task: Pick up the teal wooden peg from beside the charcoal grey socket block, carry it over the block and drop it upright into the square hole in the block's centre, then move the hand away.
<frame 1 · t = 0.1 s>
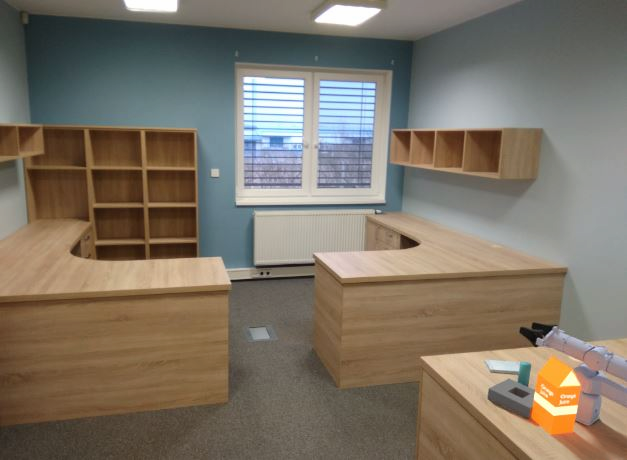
hand: (526, 327, 166), 22 cm above the table, tool horizontal, fingers open, 7 cm apart
peg: (522, 385, 172), on the table
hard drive: (504, 369, 185), on the table
socket block: (517, 402, 161), on the table
orange juice: (551, 425, 149), on the table
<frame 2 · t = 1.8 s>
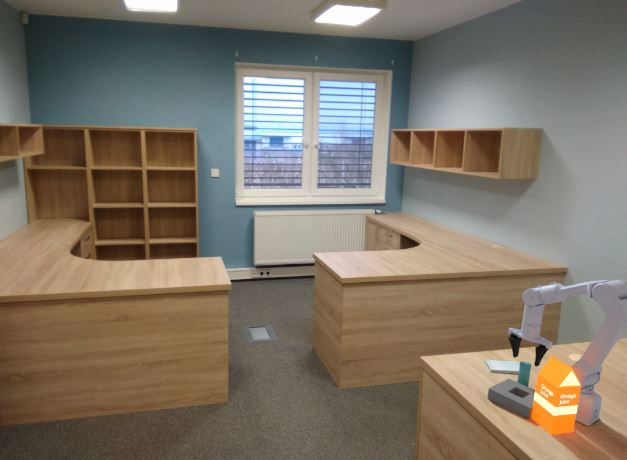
hand: (526, 361, 170), 9 cm above the table, tool pointing down, fingers open, 7 cm apart
nothing on the table moved.
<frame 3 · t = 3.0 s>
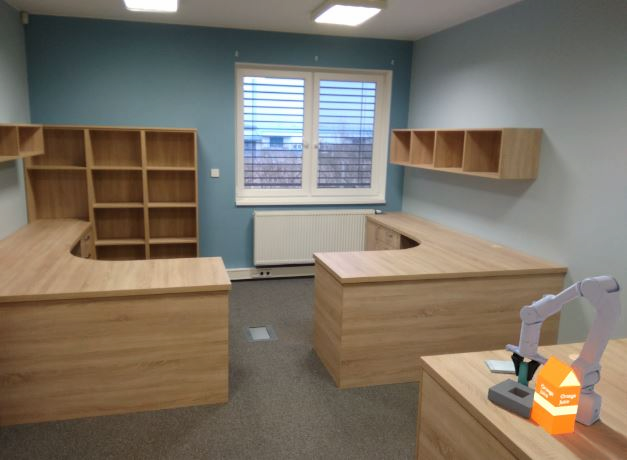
hand: (523, 377, 172), 3 cm above the table, tool pointing down, fingers closed on peg, 3 cm apart
peg: (522, 385, 172), on the table, touching gripper
everything else where it was.
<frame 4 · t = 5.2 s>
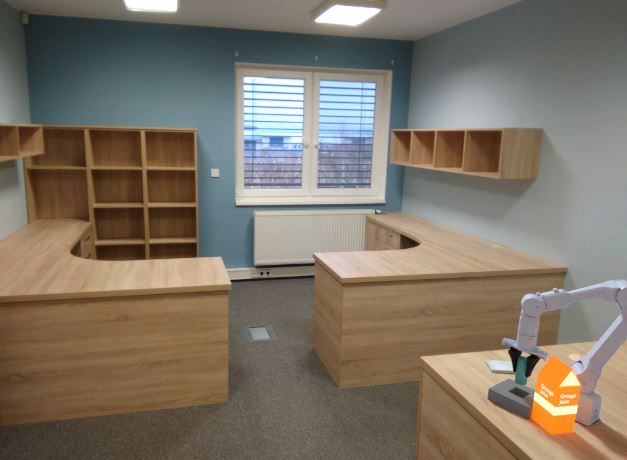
hand: (521, 373, 159), 10 cm above the table, tool pointing down, fingers closed on peg, 3 cm apart
peg: (520, 382, 160), point 7 cm above the table, touching gripper
everything else where it was.
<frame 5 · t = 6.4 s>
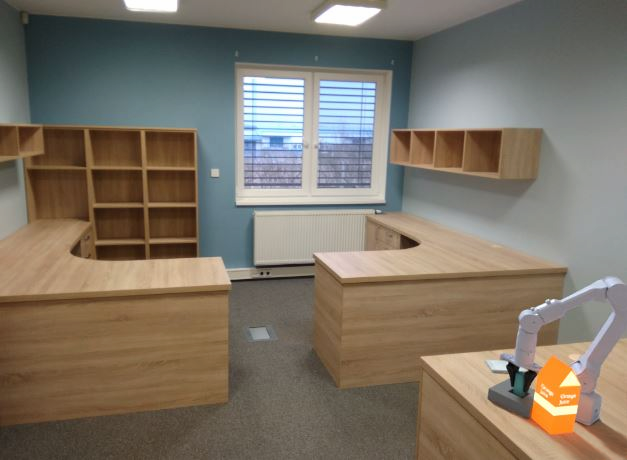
hand: (519, 388, 160), 5 cm above the table, tool pointing down, fingers closed on peg, 3 cm apart
peg: (518, 397, 161), point 2 cm above the table, touching gripper
everything else where it was.
when the fingers open (5 cm above the table, at t = 7.5 s): peg drops 2 cm, resting in socket block.
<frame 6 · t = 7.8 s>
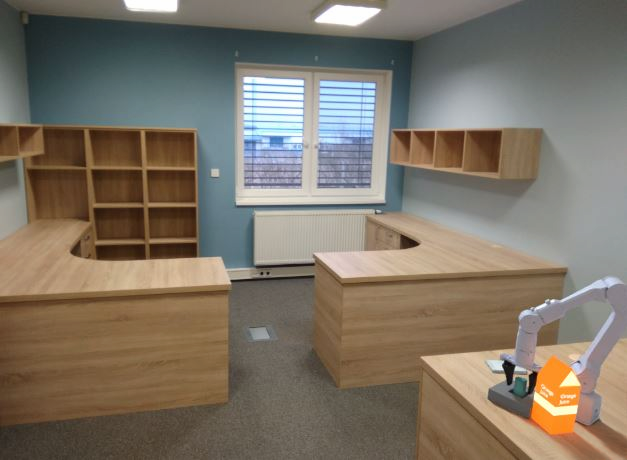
hand: (519, 389, 160), 5 cm above the table, tool pointing down, fingers open, 6 cm apart
peg: (517, 402, 161), resting in socket block
everything else where it was.
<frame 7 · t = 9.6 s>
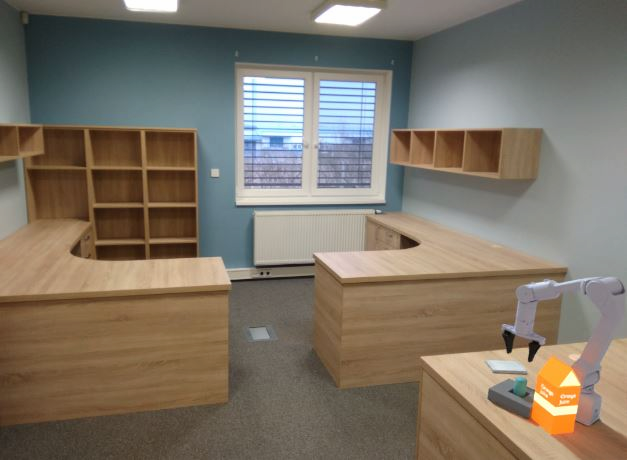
hand: (519, 357, 172), 10 cm above the table, tool pointing down, fingers open, 7 cm apart
nothing on the table moved.
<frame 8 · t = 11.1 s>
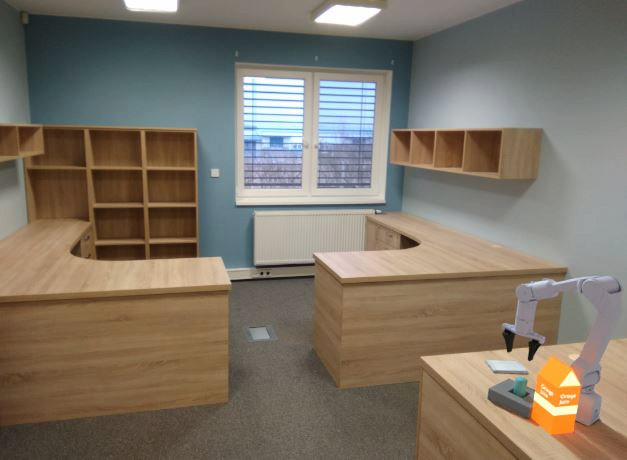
hand: (519, 355, 173), 9 cm above the table, tool pointing down, fingers open, 7 cm apart
nothing on the table moved.
at the end: peg 0.1 cm off-centre on the socket block, point 0.0 cm above the socket block's base; peg tilted 1°; the gripper is holding nothing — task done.
